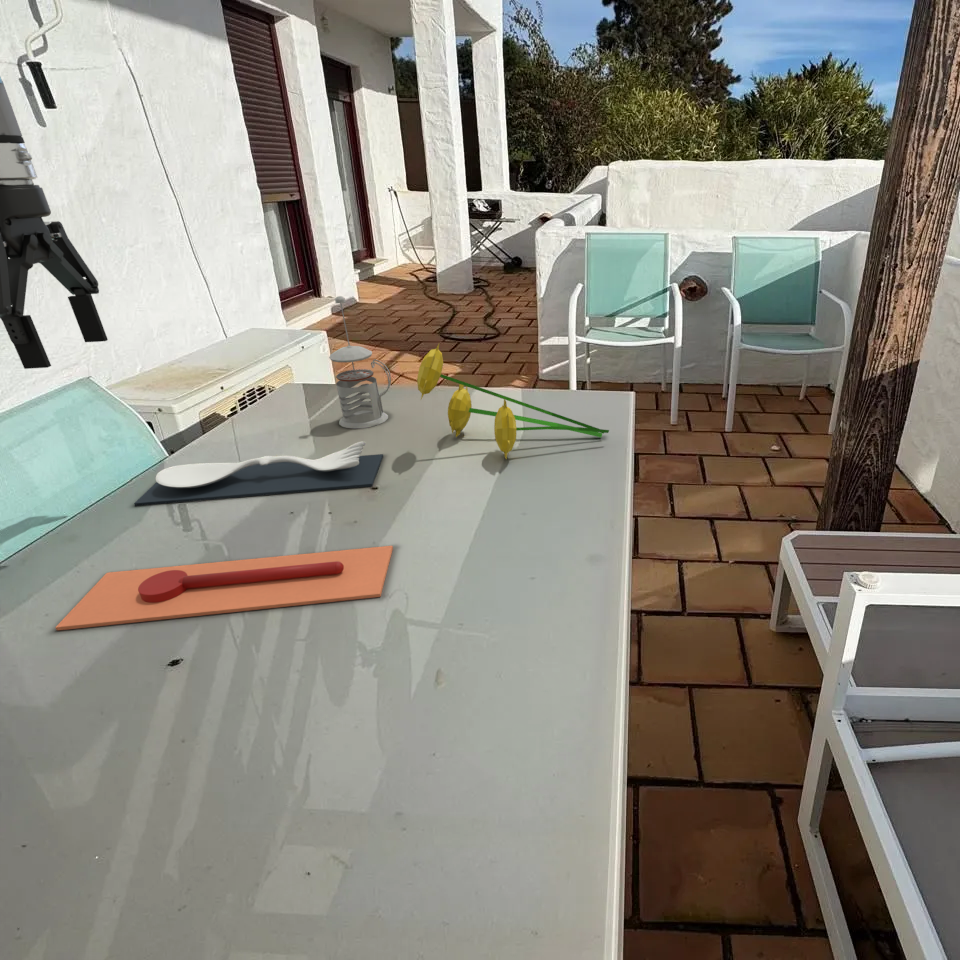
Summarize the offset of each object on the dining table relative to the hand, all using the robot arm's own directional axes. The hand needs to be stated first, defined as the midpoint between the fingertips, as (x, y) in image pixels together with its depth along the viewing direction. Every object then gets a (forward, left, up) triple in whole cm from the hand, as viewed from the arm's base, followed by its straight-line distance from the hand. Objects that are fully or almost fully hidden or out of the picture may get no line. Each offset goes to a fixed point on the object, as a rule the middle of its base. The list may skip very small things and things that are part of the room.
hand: (69, 353), depth 87 cm
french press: (+30, +33, -25) cm, 51 cm away
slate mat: (+18, +7, -25) cm, 31 cm away
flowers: (+60, +15, -25) cm, 66 cm away
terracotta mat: (+24, -24, -25) cm, 42 cm away
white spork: (+18, +7, -24) cm, 31 cm away
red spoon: (+24, -24, -24) cm, 42 cm away
